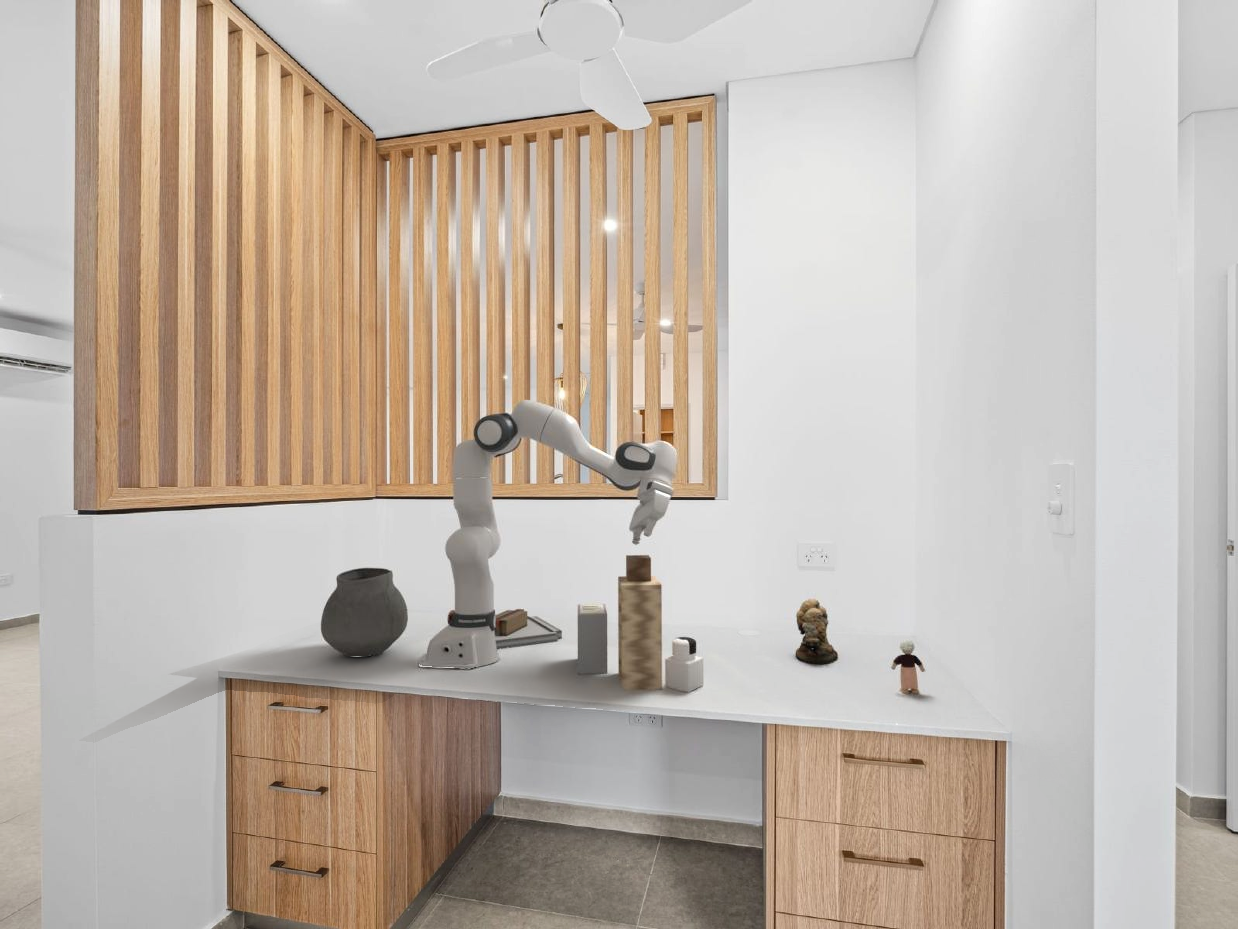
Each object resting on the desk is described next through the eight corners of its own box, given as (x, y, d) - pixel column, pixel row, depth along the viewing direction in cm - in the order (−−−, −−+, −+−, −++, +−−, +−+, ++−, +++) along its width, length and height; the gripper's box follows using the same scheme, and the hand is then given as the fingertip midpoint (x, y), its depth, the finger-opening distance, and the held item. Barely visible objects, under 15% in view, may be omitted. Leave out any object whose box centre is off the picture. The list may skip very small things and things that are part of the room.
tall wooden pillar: (622, 690, 157) (621, 585, 157) (618, 673, 171) (618, 576, 171) (662, 689, 157) (661, 584, 158) (655, 672, 171) (654, 576, 172)
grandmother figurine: (918, 688, 157) (918, 637, 157) (926, 694, 153) (926, 641, 154) (888, 689, 157) (887, 638, 157) (895, 694, 153) (895, 642, 153)
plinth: (577, 673, 170) (577, 614, 170) (577, 659, 184) (577, 603, 184) (607, 673, 170) (607, 613, 171) (605, 658, 184) (605, 603, 185)
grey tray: (451, 632, 218) (451, 611, 218) (533, 623, 232) (533, 602, 232) (472, 654, 191) (472, 629, 192) (564, 642, 205) (564, 619, 205)
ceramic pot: (300, 662, 182) (301, 575, 182) (358, 641, 205) (359, 563, 206) (371, 669, 175) (372, 578, 175) (423, 646, 198) (424, 566, 198)
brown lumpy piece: (836, 668, 175) (835, 606, 175) (792, 664, 179) (791, 603, 179) (838, 650, 192) (837, 594, 192) (798, 647, 196) (797, 592, 196)
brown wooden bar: (627, 581, 163) (627, 558, 163) (623, 571, 180) (623, 550, 180) (651, 581, 163) (650, 558, 163) (644, 571, 181) (644, 550, 181)
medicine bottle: (680, 680, 165) (680, 633, 165) (704, 685, 160) (703, 638, 160) (664, 687, 159) (664, 639, 159) (688, 693, 155) (688, 643, 155)
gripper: (631, 501, 187) (618, 544, 181) (655, 479, 169) (643, 526, 163) (650, 509, 188) (638, 552, 182) (677, 487, 170) (665, 534, 164)
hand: (641, 539), depth 172 cm, fingers open, 8 cm apart
